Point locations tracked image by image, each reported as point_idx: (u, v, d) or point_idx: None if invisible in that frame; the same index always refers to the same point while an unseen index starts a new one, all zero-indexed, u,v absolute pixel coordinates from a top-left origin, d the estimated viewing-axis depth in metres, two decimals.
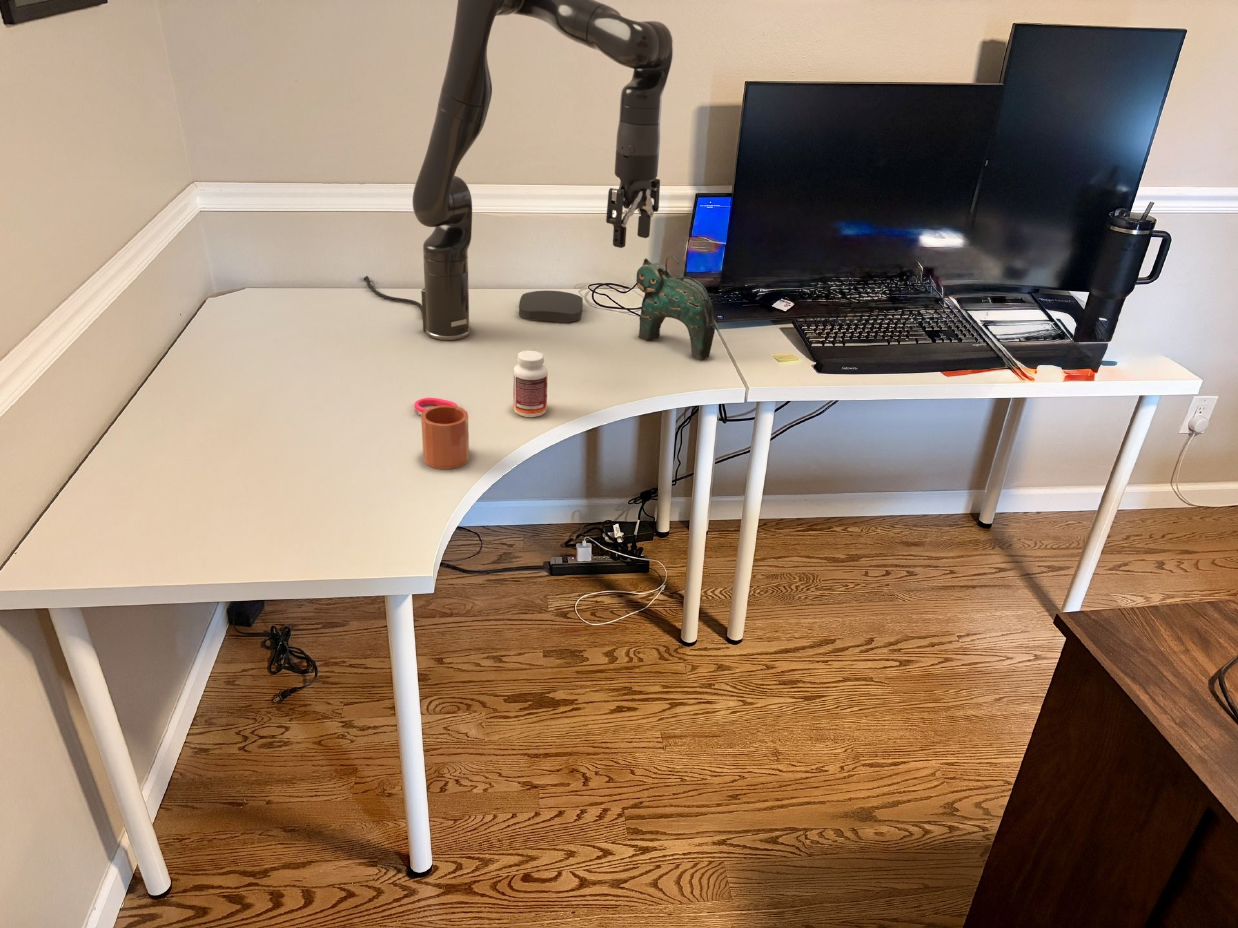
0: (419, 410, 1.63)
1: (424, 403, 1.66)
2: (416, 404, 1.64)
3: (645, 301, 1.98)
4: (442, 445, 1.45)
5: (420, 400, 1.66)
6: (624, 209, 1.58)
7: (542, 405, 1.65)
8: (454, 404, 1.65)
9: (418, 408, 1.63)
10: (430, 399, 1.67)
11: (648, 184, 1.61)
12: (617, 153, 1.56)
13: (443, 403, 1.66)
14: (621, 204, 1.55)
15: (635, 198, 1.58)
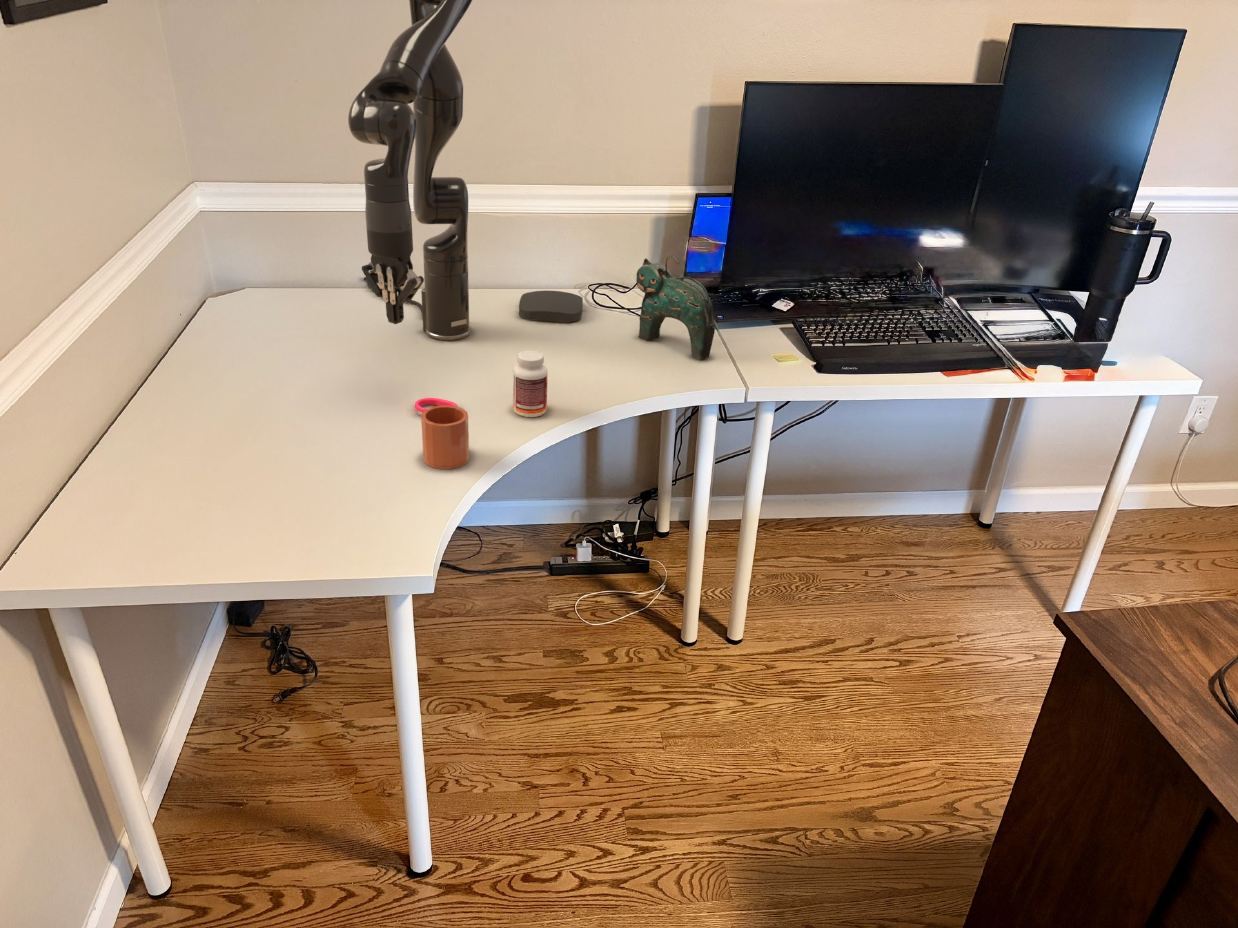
0: (419, 410, 1.63)
1: (424, 403, 1.66)
2: (416, 404, 1.64)
3: (645, 301, 1.98)
4: (442, 445, 1.45)
5: (420, 400, 1.66)
6: None
7: (542, 405, 1.65)
8: (454, 404, 1.65)
9: (418, 408, 1.63)
10: (430, 399, 1.67)
11: (399, 265, 1.54)
12: None
13: (443, 403, 1.66)
14: (369, 278, 1.59)
15: (377, 273, 1.57)
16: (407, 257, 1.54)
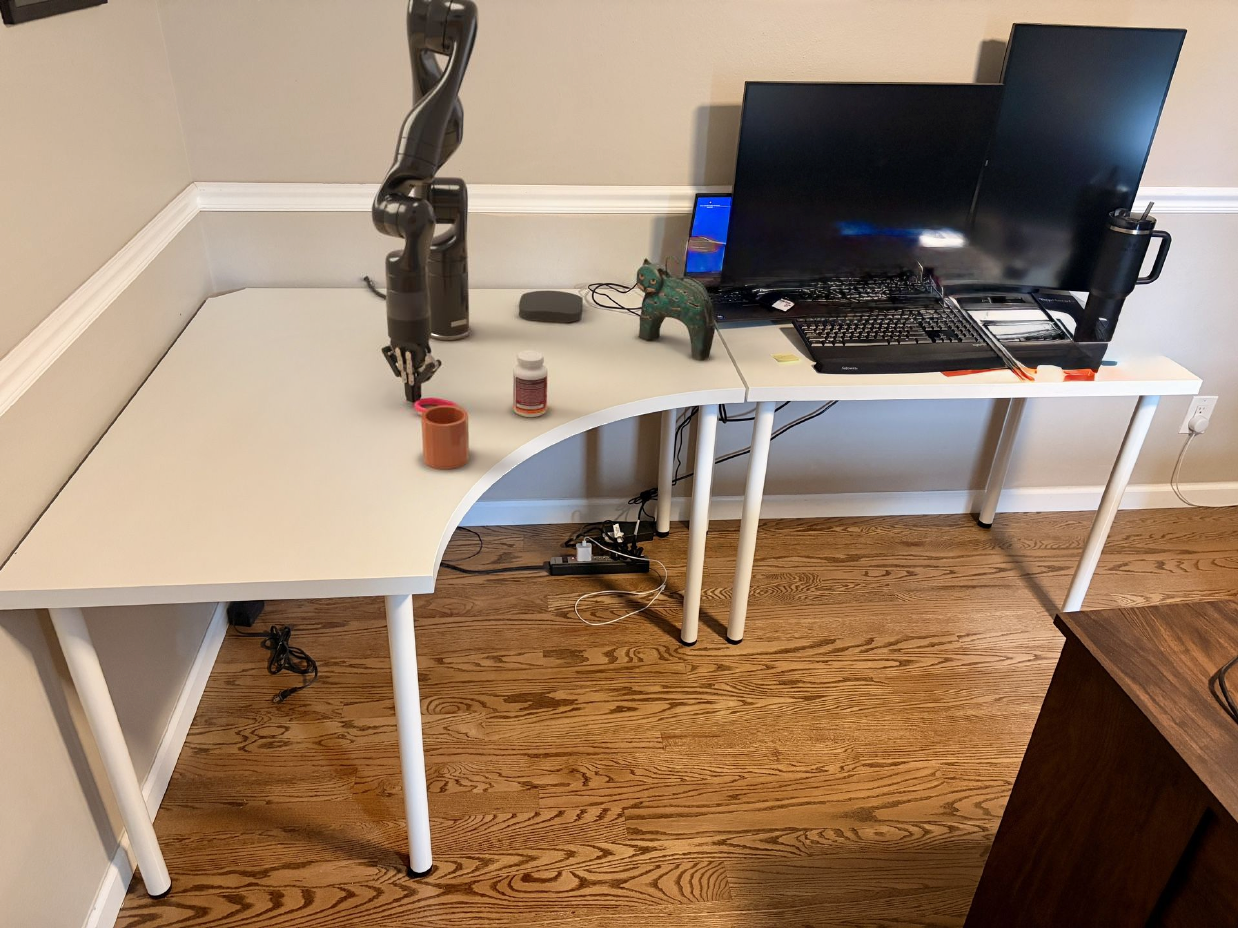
0: (419, 410, 1.63)
1: (424, 403, 1.66)
2: (416, 404, 1.64)
3: (645, 301, 1.98)
4: (442, 445, 1.45)
5: (420, 400, 1.66)
6: None
7: (542, 405, 1.65)
8: (454, 404, 1.65)
9: (418, 408, 1.63)
10: (430, 399, 1.67)
11: (418, 350, 1.59)
12: None
13: (443, 403, 1.66)
14: (388, 359, 1.64)
15: (397, 355, 1.62)
16: (426, 342, 1.59)
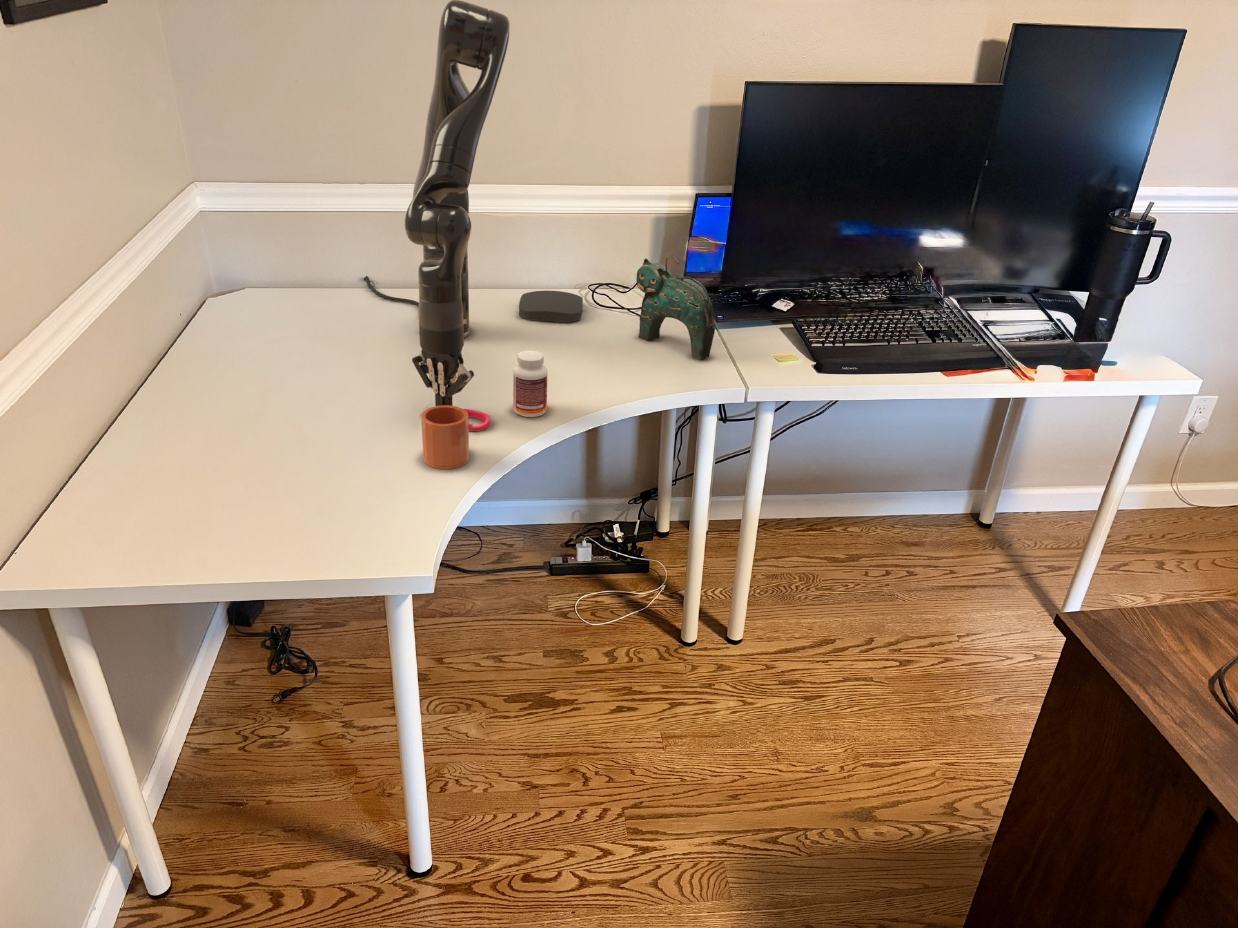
0: None
1: None
2: None
3: (645, 301, 1.98)
4: (442, 445, 1.45)
5: None
6: None
7: (542, 405, 1.65)
8: (486, 415, 1.62)
9: None
10: None
11: (450, 361, 1.56)
12: None
13: (474, 414, 1.63)
14: (419, 369, 1.61)
15: None
16: (458, 353, 1.56)
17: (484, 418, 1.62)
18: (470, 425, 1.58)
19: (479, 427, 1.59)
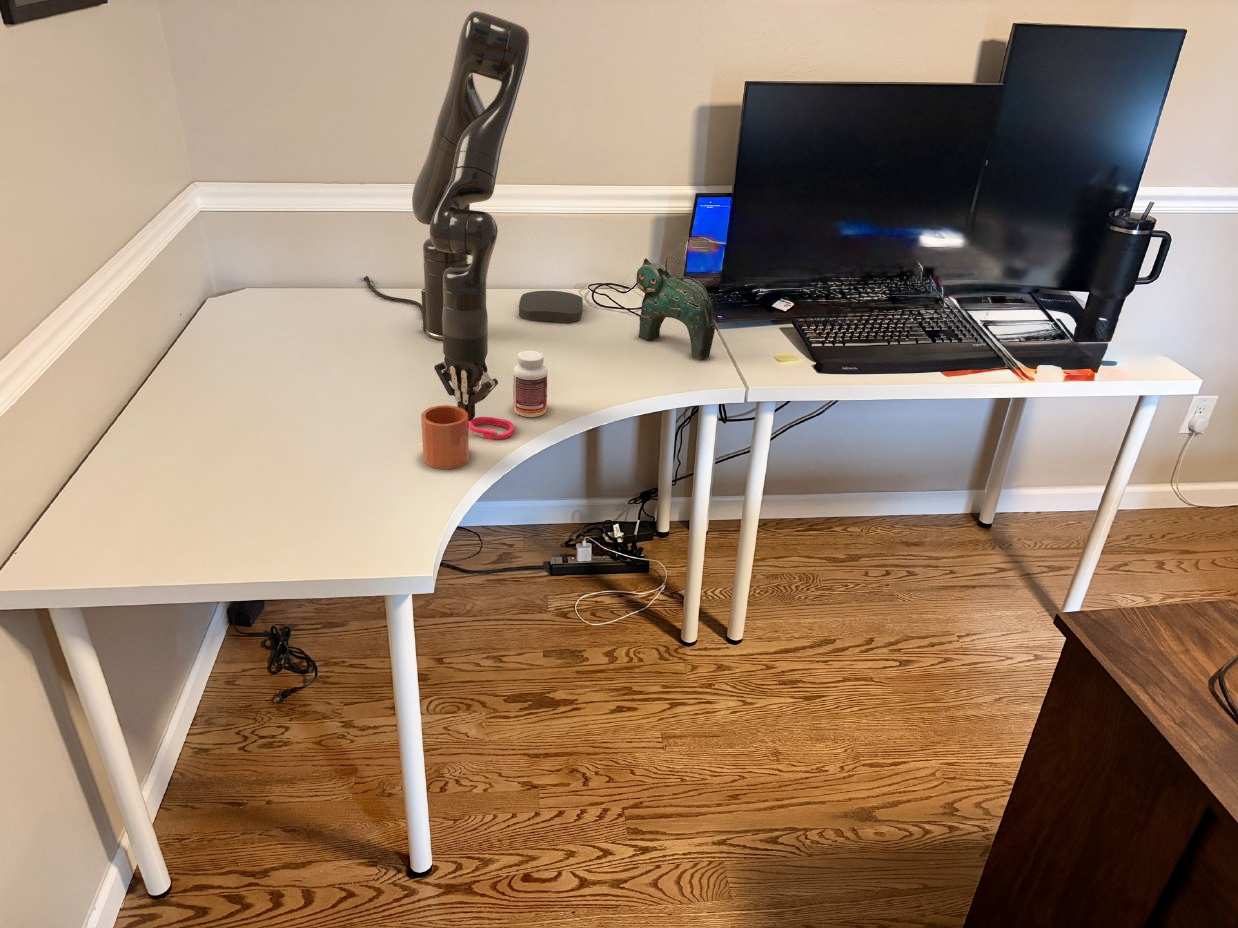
0: (475, 430, 1.57)
1: (477, 423, 1.61)
2: (471, 424, 1.58)
3: (645, 301, 1.98)
4: (442, 445, 1.45)
5: (473, 419, 1.60)
6: None
7: (542, 405, 1.65)
8: (509, 423, 1.60)
9: (474, 428, 1.57)
10: (483, 418, 1.61)
11: (474, 369, 1.54)
12: None
13: (497, 422, 1.61)
14: (442, 377, 1.58)
15: None
16: (482, 360, 1.53)
17: (507, 426, 1.60)
18: (495, 433, 1.56)
19: (504, 435, 1.57)
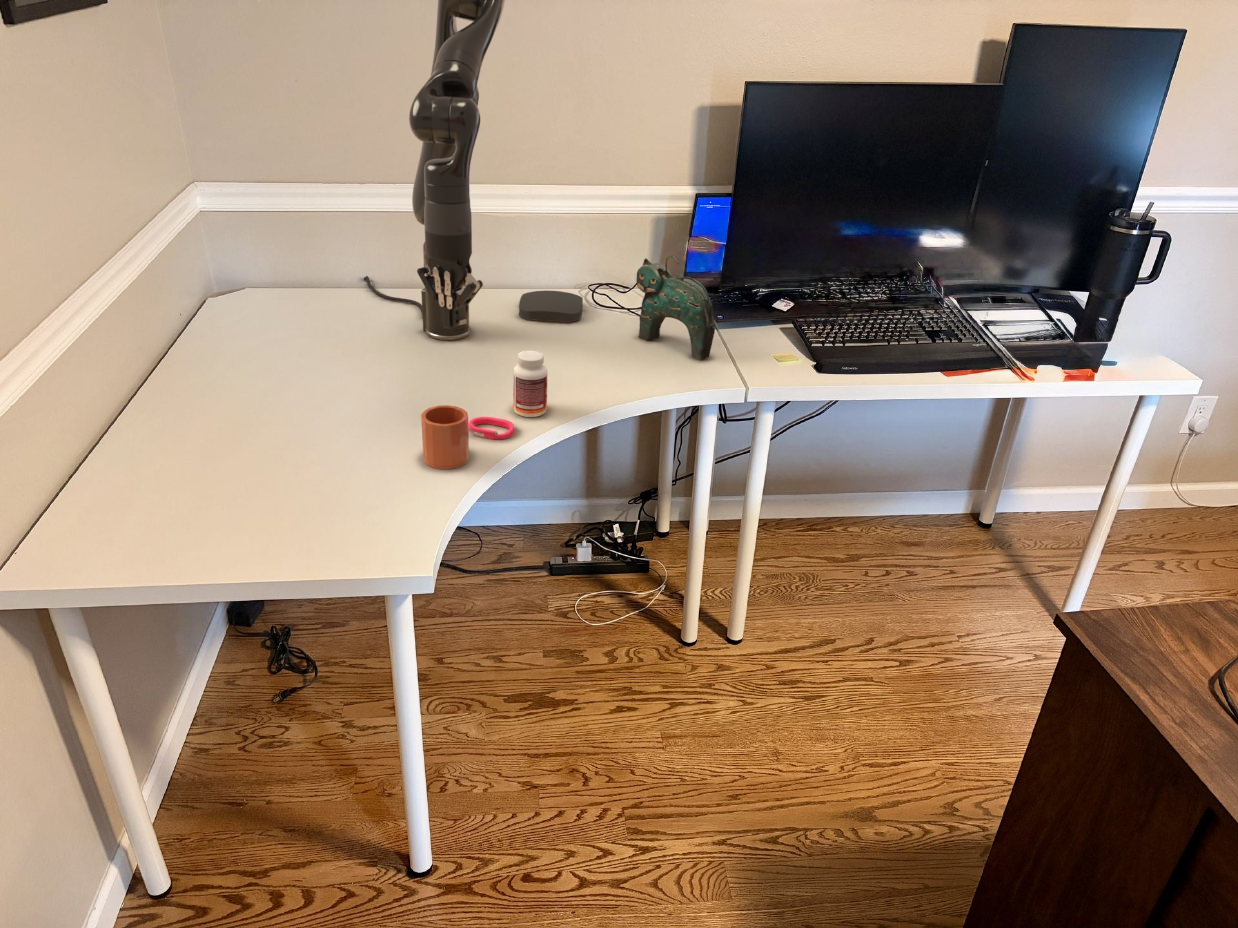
0: (475, 430, 1.57)
1: (477, 423, 1.61)
2: (471, 424, 1.58)
3: (645, 301, 1.98)
4: (442, 445, 1.45)
5: (474, 419, 1.60)
6: None
7: (542, 405, 1.65)
8: (510, 423, 1.60)
9: (474, 428, 1.57)
10: (483, 418, 1.61)
11: (458, 269, 1.48)
12: None
13: (497, 422, 1.61)
14: (425, 281, 1.53)
15: (434, 276, 1.51)
16: (466, 260, 1.48)
17: (508, 426, 1.60)
18: (495, 433, 1.56)
19: (504, 435, 1.57)
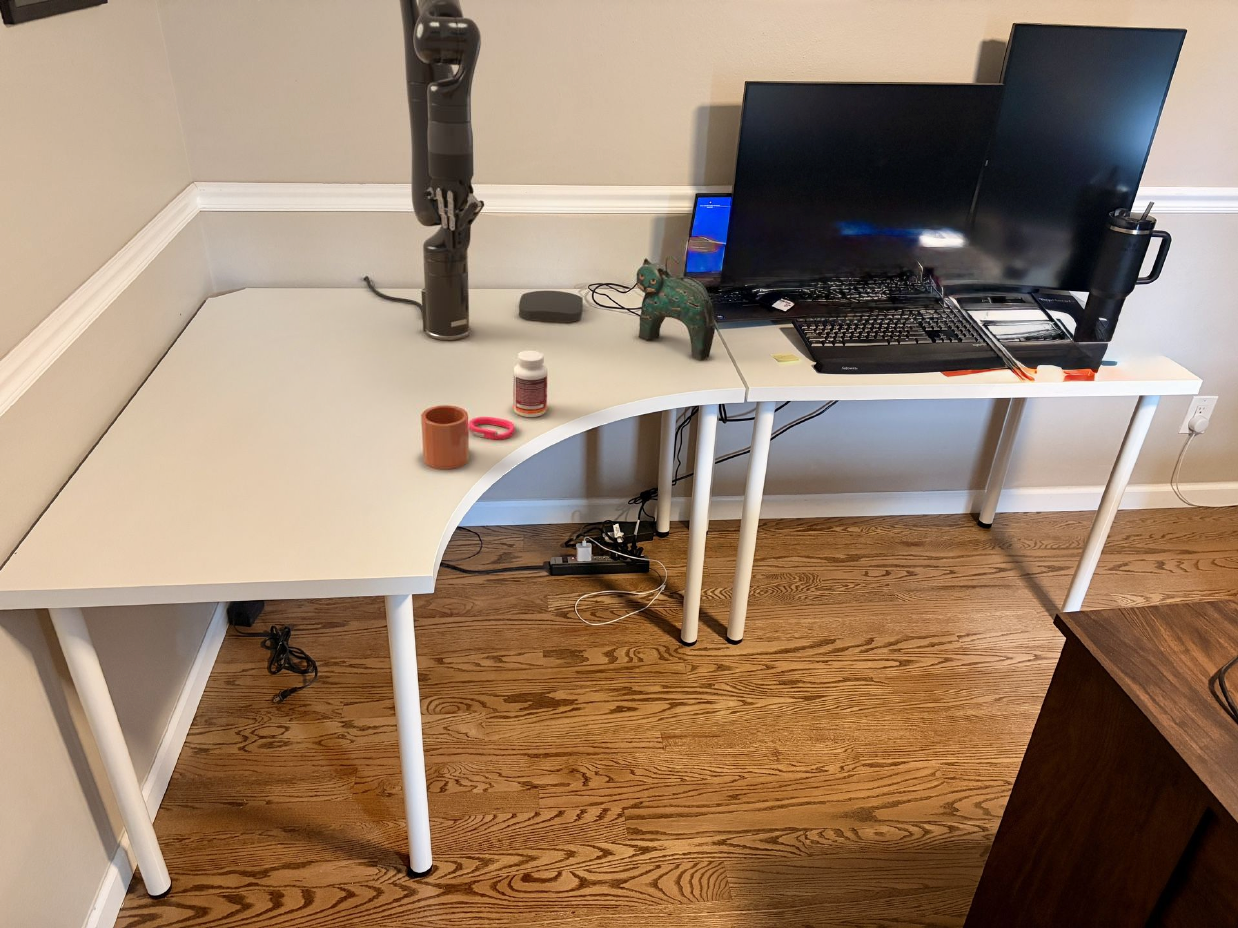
0: (475, 430, 1.57)
1: (477, 423, 1.61)
2: (471, 424, 1.58)
3: (645, 301, 1.98)
4: (442, 445, 1.45)
5: (474, 419, 1.60)
6: None
7: (542, 405, 1.65)
8: (510, 422, 1.60)
9: (474, 428, 1.57)
10: (483, 418, 1.61)
11: (460, 189, 1.54)
12: None
13: (497, 422, 1.61)
14: (428, 203, 1.59)
15: (438, 197, 1.57)
16: (468, 181, 1.54)
17: (508, 426, 1.60)
18: (495, 433, 1.56)
19: (504, 435, 1.57)
